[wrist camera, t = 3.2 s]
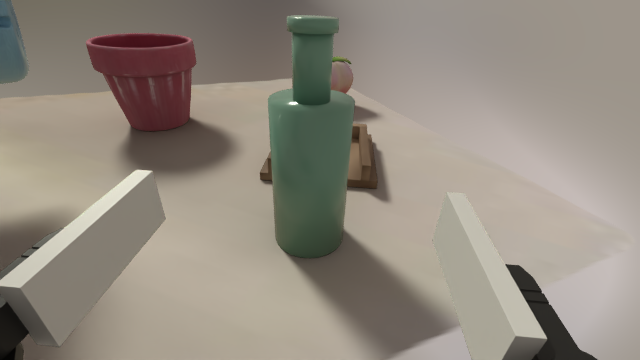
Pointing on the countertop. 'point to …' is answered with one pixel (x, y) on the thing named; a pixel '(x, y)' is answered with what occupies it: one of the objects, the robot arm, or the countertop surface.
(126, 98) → the plant pot
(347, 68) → the decorative fruit
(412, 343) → the countertop surface
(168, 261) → the countertop surface
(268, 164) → the u rest
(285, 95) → the green bottle
